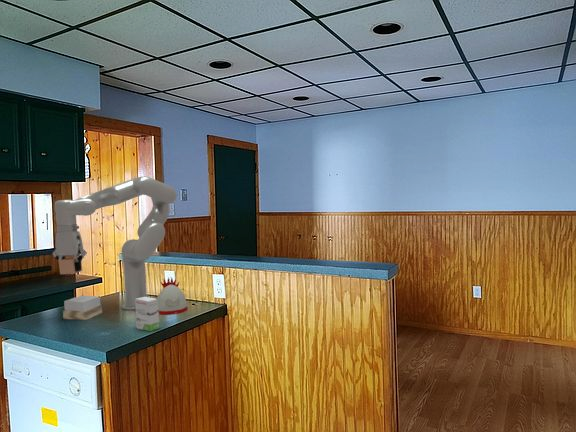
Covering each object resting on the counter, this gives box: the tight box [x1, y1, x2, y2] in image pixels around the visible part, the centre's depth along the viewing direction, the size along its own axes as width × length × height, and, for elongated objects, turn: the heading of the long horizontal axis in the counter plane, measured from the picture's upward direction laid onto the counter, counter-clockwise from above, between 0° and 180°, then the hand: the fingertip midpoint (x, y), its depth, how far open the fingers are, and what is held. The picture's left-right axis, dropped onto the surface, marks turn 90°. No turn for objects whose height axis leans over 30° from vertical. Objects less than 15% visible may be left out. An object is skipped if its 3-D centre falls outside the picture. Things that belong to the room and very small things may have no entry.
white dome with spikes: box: [156, 277, 188, 316], centre depth 189 cm, size 14×14×15 cm
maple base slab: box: [62, 304, 103, 321], centre depth 184 cm, size 11×11×4 cm
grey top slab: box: [63, 295, 101, 311], centre depth 184 cm, size 10×10×4 cm
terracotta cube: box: [58, 257, 83, 275], centre depth 178 cm, size 6×6×6 cm
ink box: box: [135, 296, 160, 332], centre depth 164 cm, size 9×5×12 cm, turn 55°
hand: (71, 270), depth 179 cm, fingers closed on terracotta cube, 6 cm apart
